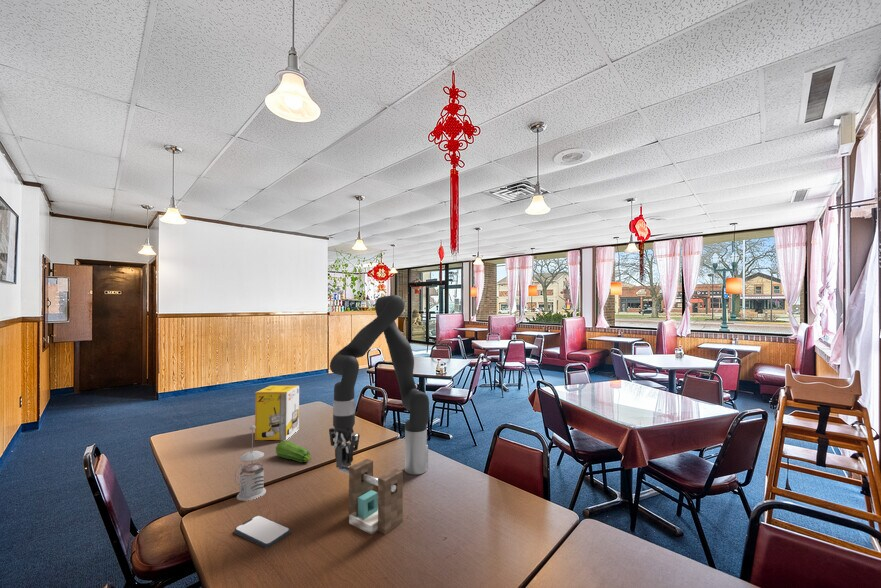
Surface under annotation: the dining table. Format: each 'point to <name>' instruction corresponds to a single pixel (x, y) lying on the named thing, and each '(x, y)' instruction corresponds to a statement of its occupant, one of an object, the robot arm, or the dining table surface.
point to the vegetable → (292, 451)
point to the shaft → (344, 466)
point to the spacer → (367, 504)
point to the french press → (247, 489)
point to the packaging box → (276, 412)
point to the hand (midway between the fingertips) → (343, 460)
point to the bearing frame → (387, 500)
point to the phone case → (262, 531)
